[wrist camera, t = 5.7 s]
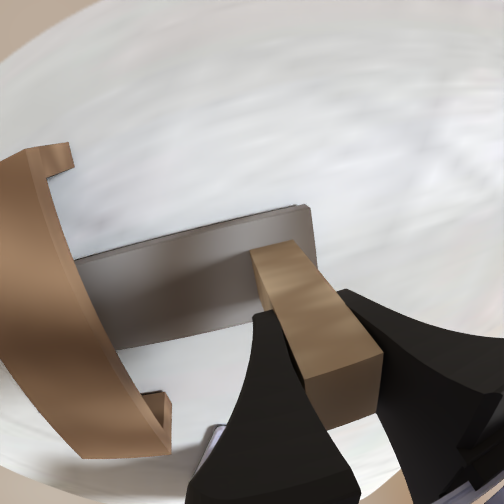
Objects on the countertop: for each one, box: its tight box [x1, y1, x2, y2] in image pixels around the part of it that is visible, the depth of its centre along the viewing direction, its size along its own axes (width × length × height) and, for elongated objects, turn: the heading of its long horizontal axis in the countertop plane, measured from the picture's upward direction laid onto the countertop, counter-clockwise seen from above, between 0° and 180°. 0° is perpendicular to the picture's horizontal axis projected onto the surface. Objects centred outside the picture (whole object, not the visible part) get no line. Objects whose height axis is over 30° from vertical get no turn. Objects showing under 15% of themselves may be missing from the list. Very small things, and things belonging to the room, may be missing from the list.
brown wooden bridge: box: [0, 142, 172, 459], centre depth 13 cm, size 16×6×4 cm, turn 11°
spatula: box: [74, 204, 384, 431], centre depth 11 cm, size 12×5×9 cm, turn 101°
